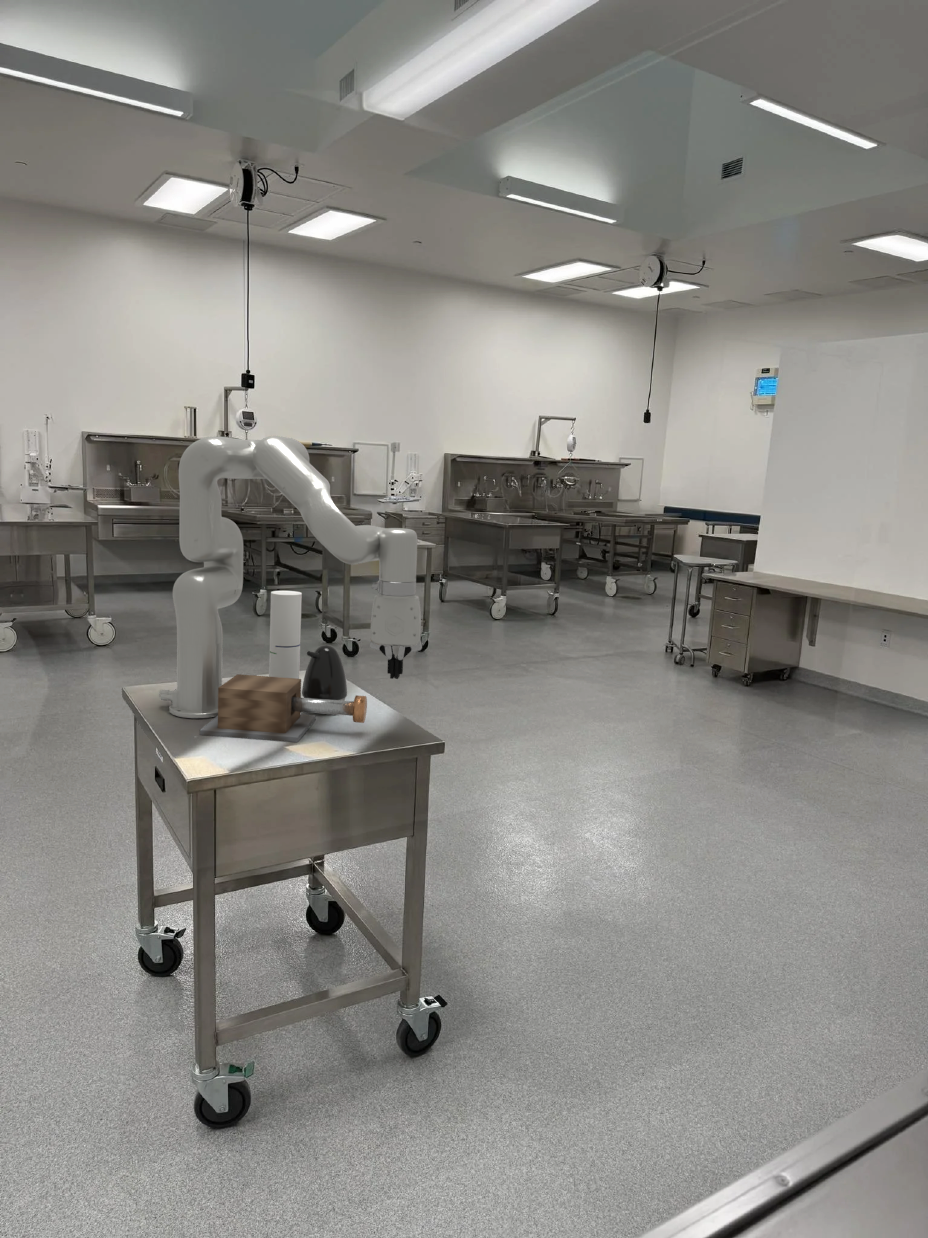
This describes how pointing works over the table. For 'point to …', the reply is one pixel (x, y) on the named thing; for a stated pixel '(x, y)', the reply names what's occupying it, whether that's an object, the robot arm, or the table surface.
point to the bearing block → (259, 709)
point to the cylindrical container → (285, 634)
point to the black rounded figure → (325, 675)
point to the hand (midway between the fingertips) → (395, 677)
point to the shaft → (332, 707)
